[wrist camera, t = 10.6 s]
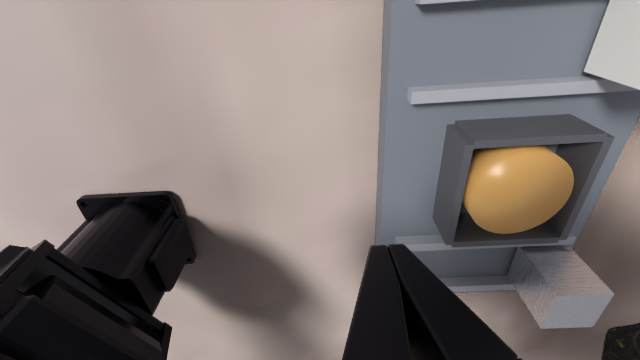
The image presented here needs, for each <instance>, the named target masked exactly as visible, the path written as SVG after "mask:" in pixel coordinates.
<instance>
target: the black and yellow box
mask: <svg viewBox="0 0 640 360" xmlns="http://www.w3.org/2000/svg"><path fill="white" fill-rule="evenodd" d="M606 339H607V340H606V342H605V349H604V352H603V354H604V355H603V357H602V359H603V360H640V324H638V325H634V326H626V327H620V328H614V329H611V330H610V331H609V332H608V334H607V336H606Z"/></svg>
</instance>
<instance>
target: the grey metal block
mask: <svg viewBox="0 0 640 360" xmlns="http://www.w3.org/2000/svg"><path fill="white" fill-rule="evenodd" d="M507 276H508V278H509V280H510V281H511V283H512V284H513V286H514V287H515V289H516V291H517V292H518V294H519V295H520V297H521V298H522V300H523V302H524V303H525V305H526V306H527V308H528V309H529V311H530V312H531V314H532V316H533V317H534V319H535V320H536V322H537V323H538V325H539V327H540V328H541V329H549V328H580V327H593V326H594V324H595V323H596V321H597V320H598V318H599V317H600V315H601V314H602V312H603V311H604V309H605V308H606V306H607V305H608V303H609V302H610V300H611V299H612V297H613V296H614V293H613V292H612V291H611V290H610V289H609V288H608V286H607V285H606V284H605V283H604V282H603V281H602V280H601V279H600V278H599V277H598V276H597V275H596V274H595V273H594V272H593V271H592V270H591V269H590V268H589V266H588V265H587V264H586V263H585V262H584V261H583V260H582V259H581V258H580V257H579V256H578V255H577V254H576V253H575V252H574V251H573V250H572V249H571V247H570V246H569V245H549V246H526V247H518V248H517V250H516V253H515V256H514V259H513V261H512V264H511V267H510V269H509V272H508V275H507Z"/></svg>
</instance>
